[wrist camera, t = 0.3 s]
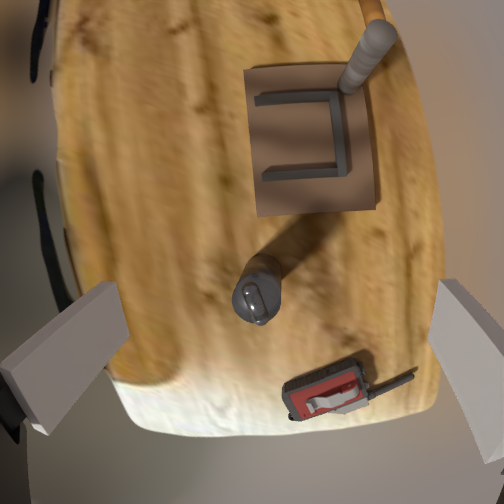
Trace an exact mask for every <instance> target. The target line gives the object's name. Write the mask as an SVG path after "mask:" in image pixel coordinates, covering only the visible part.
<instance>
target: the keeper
mask: <svg viewBox="0 0 504 504" xmlns="http://www.w3.org/2000/svg"><path fill="white" fill-rule="evenodd" d="M359 4H360V7H361V11H362V14H363V18H364V22H365V25H366V30H365V32H364V33H363V35H362V37H361V39H360V41H359V43H358V45H357V47H356V48H355V50H354V52H353V54H352V56H351V58H350V60H349V62H348V64H318V65H293V66H278V67H266V68H256V69H247V70H243V71H244V81H245V91H246V102H247V112H248V123H249V133H250V144H251V154H252V165H253V176H254V187H255V198H256V209H257V217H267V216H280V215H294V214H309V213H325V212H342V211H361V210H376V205H375V188H374V174H373V162H372V151H371V141H370V133H369V125H368V117H367V110H366V103H365V96H364V90H363V84H362V83H363V82H364V81H365V79H366V78H367V77H368V76H369V74H370V73H371V72H372V70H373V69H374V68H375V67H376V65H377V64H378V63H379V62H380V60H381V59H382V58H383V57H384V55H385V54H386V53H387V52H388V50H389V49H390V48H391V47H392V45H393V44H394V43H395V42H396V40H397V38H398V34H397V31H396V29H395V28H394V26H393V25H392V24H390V23H389V22H387V21H386V18H385V15H384V11H383V8H382V5H381V2H380V0H359Z"/></svg>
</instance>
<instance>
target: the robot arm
mask: <svg viewBox="0 0 504 504" xmlns="http://www.w3.org/2000/svg"><path fill="white" fill-rule="evenodd" d="M129 337H130V334H129V331H128V327H127V324H126V320H125V316H124V313H123V309H122V305H121V301H120V297H119V293H118V289H117V285H116V282H112V281H102V282H100V283H99V284H98V285H96V286H95V287H94V288H92V289H91V290H90V291H88V292H87V293H86V294H85V295H83V296H82V297H81V298H79V299H78V300H77V301H75V302H74V303H73V304H72V305H70V306H69V307H68V308H66V309H65V310H64V311H63V312H61V313H60V314H59V315H58V316H56V317H55V318H54V319H53V320H51V321H50V322H49V323H48V324H46V325H45V326H44V327H43V328H41V329H40V330H39V331H38V332H37V333H35V334H34V335H33V336H32V337H31V338H29V339H28V340H27V341H26V342H25V343H23V344H22V345H21V346H20V347H19V348H18V349H16V350H15V351H14V352H13V353H12V354H11V355H9V356H8V357H7V358H6V359H5V360H4V361H2V362H1V363H0V504H31V498H30V489H29V479H28V464H27V430H26V426H25V424H24V423H23V420H24V419H25V418H26V417H27V418H28V420H29V421H30V423H31V424H32V426H33V427H34V429H36V430H38V431H40V432H42V433H44V434H46V435H48V436H49V435H50V434H51V432H52V431H53V430H54V428H55V427H56V426H57V425H58V423H59V422H60V421H61V419H62V418H63V417H64V416H65V414H66V413H67V412H68V411H69V409H70V408H71V407H72V406H73V404H74V403H75V402H76V401H77V399H78V398H79V397H80V396H81V394H82V393H83V392H84V390H85V389H86V388H87V387H88V386H89V385H90V383H91V382H92V381H93V380H94V378H95V377H96V376H97V374H99V372H100V371H101V370H102V369H103V368H104V366H105V365H106V364H107V363H108V362H109V360H110V359H111V358H112V357H113V356H114V354H115V353H116V352H117V351H118V350H119V348H120V347H121V346H122V345H123V344H124V343H125V341H126V340H127V339H128V338H129ZM427 340H428V342H429V344H430V346H431V348H432V350H433V351H434V353H435V355H436V357H437V359H438V361H439V363H440V365H441V367H442V369H443V370H444V372H445V374H446V376H447V378H448V380H449V383H450V384H451V387H452V389H453V391H454V393H455V395H456V397H457V399H458V401H459V403H460V406H461V408H462V410H463V412H464V414H465V416H466V419H467V421H468V424H469V426H470V428H471V431H472V433H473V435H474V438H475V440H476V442H477V445H478V447H479V450H480V453H481V455H482V458H483V461H484V463H485V464H487V463H489V462H492V461H495V460H498V459H500V458H503V457H504V330H503V329H502V327H501V326H500V325H499V324H498V323H497V322H496V321H495V320H494V319H493V317H492V316H491V315H490V314H489V313H488V312H487V311H486V310H485V309H484V308H483V307H482V306H481V304H480V303H479V302H478V301H477V300H476V299H475V298H474V297H473V296H472V295H471V294H470V293H469V292H468V291H467V290H466V289H465V288H464V287H463V286H462V285H461V284H460V283H459V282H458V281H457V280H456V279H440V280H439V284H438V290H437V296H436V301H435V306H434V311H433V316H432V321H431V325H430V330H429V334H428V338H427ZM501 474H502V475H504V469H503V471H502V472H501ZM496 504H504V486H503V488H502V490H501V493H500V496H499V498H498V500H497V503H496Z"/></svg>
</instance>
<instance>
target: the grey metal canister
mask: <svg viewBox="0 0 504 504" xmlns="http://www.w3.org/2000/svg"><path fill="white" fill-rule="evenodd" d="M281 280H282V270H281V266H280V264H279V262H278V261H277V260H276V259H275V258H274V257H272V256H270V255H266V254H259V255H256V256H254V257H252V258H251V259H250V260H249V261H248V262H247V264H246V266H245V268H244V270H243V273H242V275H241V277H240V279H239V281H238V283H237V285H236V288H235V290H234V292H233V295H232V305H233V308H234V310H235V312H236V313H237V314H238V316H239V317H241V318H242V319H243V320H245V321H247V322H250V323H255V324H256V325H259V326H263V325H265V324H267V322H268V321H269V320H271V319H272V318H273V317H274V316H275V315H276V314H277V313H278V311H279V309H280V305H281Z"/></svg>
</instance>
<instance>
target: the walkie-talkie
mask: <svg viewBox="0 0 504 504" xmlns="http://www.w3.org/2000/svg"><path fill="white" fill-rule="evenodd" d="M361 375H363V376H366V372H365V369H364V367H363V364H362V363H361V362H360V363H359V364H358V366H357V364H356V361H355V359H354V358H349V359H346V360H344V361H342V362H339V363H337V364H334V365H332V366H329V367H327V368H324V369H323V370H321V371H320V370H319V371H318V372H315V373H312V374H309V375H307V376H305V377H301V378H298V379H297V380H296V379H295V380H294V381H291V382H287V383H284V385H283V387H282V400H283V402H284V403H285V405H286V407H287V409H288V410H289V412H290V413H289V414H288V418H289V420H291V421H303V420H306V419H309V418H312V417H315V416H319V415H322V414H325V413H327V412H329V413H338V414H346V413H349V412H351V411H354V410H356V409H359V408H361V407H366V406H368V405H369V403H368V401H369V400H371V399H373V398H375V397H376V396H378V395H381V394H383V393H385V392H387V391H389V390H392V389H394V388H396V387H398V386H400V385H402V384H404V383H406V382H408V381H410V380H413V379H414V374H413V373H410V374H408V375H406V376H404V377H402V378H400V379H398V380H396V381H394V382H392V383H390V384H387V385H385V386H383V387H381V388H379V389H376V390H374V391H373V390H372V391H369V392H367V389H368V388H370V387H369V384H368V382H366V383H365V382H363V379H362V376H361ZM291 416H292V417H291Z"/></svg>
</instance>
